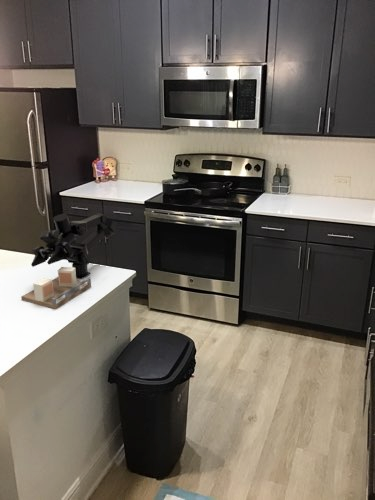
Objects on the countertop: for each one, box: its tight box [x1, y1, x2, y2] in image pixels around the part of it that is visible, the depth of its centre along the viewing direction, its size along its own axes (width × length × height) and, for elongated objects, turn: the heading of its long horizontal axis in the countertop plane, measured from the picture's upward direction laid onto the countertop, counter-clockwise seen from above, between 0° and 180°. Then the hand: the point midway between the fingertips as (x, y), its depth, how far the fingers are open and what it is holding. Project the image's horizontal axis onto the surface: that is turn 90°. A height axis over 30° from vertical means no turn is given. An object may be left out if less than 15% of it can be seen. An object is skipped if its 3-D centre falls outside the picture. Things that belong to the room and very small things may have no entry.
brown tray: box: [21, 276, 92, 310], centre depth 176 cm, size 22×17×4 cm
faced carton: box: [32, 277, 54, 302], centre depth 168 cm, size 4×6×7 cm
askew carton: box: [57, 266, 77, 287], centre depth 180 cm, size 4×6×7 cm
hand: (39, 264), depth 168 cm, fingers open, 9 cm apart
